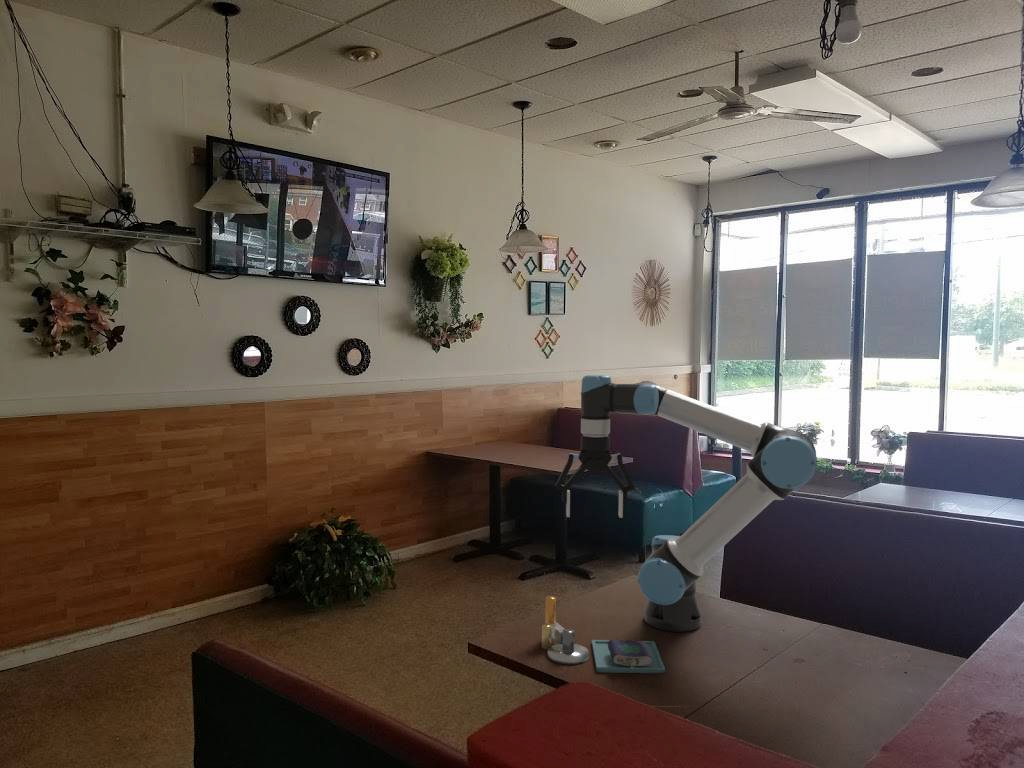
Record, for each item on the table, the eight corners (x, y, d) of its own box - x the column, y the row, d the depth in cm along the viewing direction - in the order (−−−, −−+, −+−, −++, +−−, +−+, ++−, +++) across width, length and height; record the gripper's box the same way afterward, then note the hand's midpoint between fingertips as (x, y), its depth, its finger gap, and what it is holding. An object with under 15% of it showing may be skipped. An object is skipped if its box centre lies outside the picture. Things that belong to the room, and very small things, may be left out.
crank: (569, 643, 182) (569, 607, 181) (559, 644, 181) (559, 608, 180) (552, 629, 190) (553, 595, 189) (543, 631, 189) (544, 596, 188)
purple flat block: (645, 639, 178) (653, 659, 168) (645, 651, 179) (653, 672, 168) (607, 638, 179) (613, 657, 168) (606, 650, 179) (612, 670, 168)
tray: (654, 645, 185) (654, 641, 185) (665, 673, 170) (665, 668, 170) (591, 644, 186) (591, 639, 186) (596, 672, 170) (596, 667, 170)
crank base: (587, 646, 185) (587, 622, 184) (590, 664, 174) (590, 639, 174) (541, 645, 185) (541, 621, 185) (542, 663, 174) (542, 639, 174)
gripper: (641, 433, 194) (640, 513, 195) (546, 432, 195) (545, 512, 196) (646, 437, 187) (644, 520, 188) (547, 436, 187) (546, 519, 189)
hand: (594, 516), depth 192 cm, fingers open, 13 cm apart
